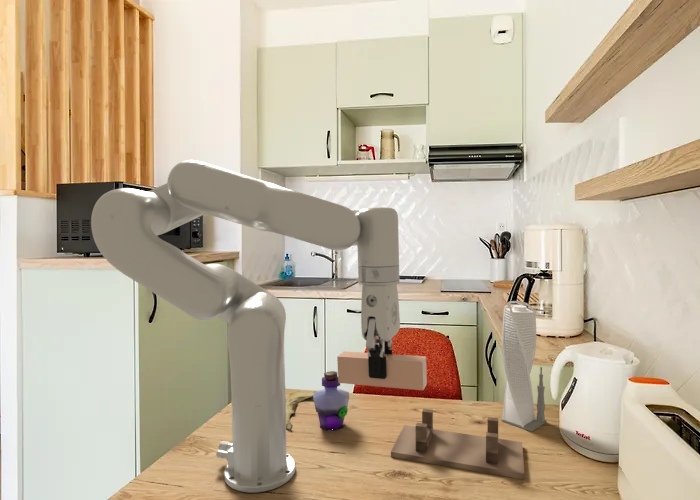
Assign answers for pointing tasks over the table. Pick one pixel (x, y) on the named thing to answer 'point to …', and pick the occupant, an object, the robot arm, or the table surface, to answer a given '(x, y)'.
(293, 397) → the animal bone
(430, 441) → the rack
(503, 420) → the skyscraper
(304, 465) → the table surface
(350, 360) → the pink rectangular block
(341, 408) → the potion bottle
